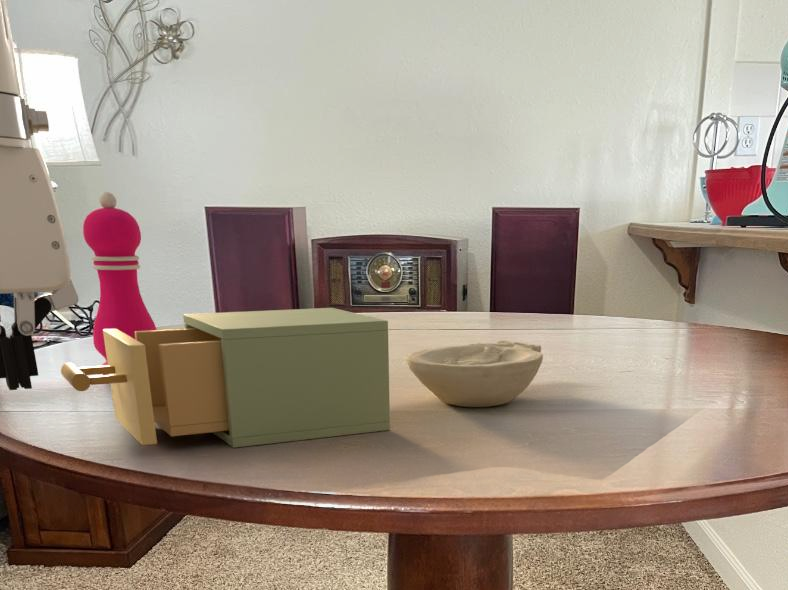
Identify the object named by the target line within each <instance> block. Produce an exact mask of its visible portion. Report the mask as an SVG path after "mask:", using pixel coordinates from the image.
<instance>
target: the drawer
mask: <svg viewBox="0 0 788 590" xmlns="http://www.w3.org/2000/svg"><path fill="white" fill-rule="evenodd" d="M103 335H104V342H105V349H106V356H107V363H108V366H102V365H95V366H81V367H80V366H77V365H76V364H75V363H72V362H65V363H63V364H62V366H61V368H60V373H61V376H62V377H63V378H64V379H65V380H66V381H67V382H68V383H69V384H70V385H71V386H72V388H73V389H75V390H76V391H78V392H86V391H87V390H88V389H90V386H94V385H95V386H96V385H97V386H98V385H108V384H109V385H110V389H111V390H110V391H111V397H112V404H113V411H114V412H113V413H114V418H115V420H117V422H118V423H120V425H121V426H122V427H123V428H124V429H125V430H126V431H127V432H128V433H129V434H131V436H132V437H133V438H134V439H136V441H137V442H138V443H139V444H140V445H141V446H150V445H157V444H158V440H157V431H156V425H157V426H159V427H160V428H161V429H162V430H163V431H164V432H165V433H166V434H168V435H169V436H170V437H180V436H190V435H191V436H192V435H200V434H210V433H213V432H219V431H229V422H228V411H227V400H226V389H225V378H224V367H223V357H222V346H221V338H219V337H216V336H214V335H212V334H209V333H207V332H204V331H202V330H200V329H197V328H187V329H185V328H169V329H168V328H167V329H157V330H148V331H135V339H134V338H132V337H130V336H128V335H127V334H125V333H123V332H121V331H120V330H118V329H103ZM103 374H109V375H103Z"/></svg>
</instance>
